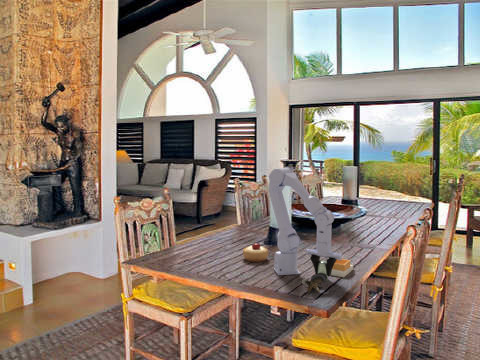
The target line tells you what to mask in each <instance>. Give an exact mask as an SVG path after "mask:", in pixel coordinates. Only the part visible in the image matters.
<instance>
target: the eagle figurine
mask: <svg viewBox="0 0 480 360" xmlns="http://www.w3.org/2000/svg"><path fill="white" fill-rule="evenodd" d="M327 278H328V277H327V275H326V274H324V273H318V274H313V275H312V276H311V278H310V280H309V279H308V278H304V279H302V280H301V283H302V285H305V287H304V288H305V289H307V294H309V293H311V291H312V290H316V291H318V292H319V293H320V288H321V286H320V285H319V284H321V283H324V282H327V281H326V280H327Z"/></svg>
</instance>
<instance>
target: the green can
mask: <svg viewBox="0 0 480 360" xmlns="http://www.w3.org/2000/svg"><path fill="white" fill-rule="evenodd" d="M318 273H324V274H326V275H327V260H320V261H318ZM318 273H317V274H318ZM327 277H328V278H327V280H326V281H325V282H327V281H329V277H330V276H327Z"/></svg>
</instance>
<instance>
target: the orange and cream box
mask: <svg viewBox="0 0 480 360" xmlns="http://www.w3.org/2000/svg"><path fill="white" fill-rule="evenodd" d="M353 270H354V264H351V259H345V258H342V260H338V259H337V260H336V262H335V264H334V266H333V268H332V271H331V275H330V276H333V277H334V276H335V277H338V278H346V276H347V275H349V273H351V272H352V271H353Z"/></svg>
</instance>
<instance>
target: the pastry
mask: <svg viewBox="0 0 480 360" xmlns="http://www.w3.org/2000/svg"><path fill="white" fill-rule="evenodd" d="M252 242H254V243H253V244H252V245H249V246H246V247H243V249H242V255H243V256H242V257H243V258H244V259H245V261H246V262H250V263H261V262H264V261H266V260H267V258H268V256H269V249H268V248H266V247H264V246H261V244H260V243H256V241H255V240H250V241H249V242H248V244H250V243H252Z"/></svg>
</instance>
